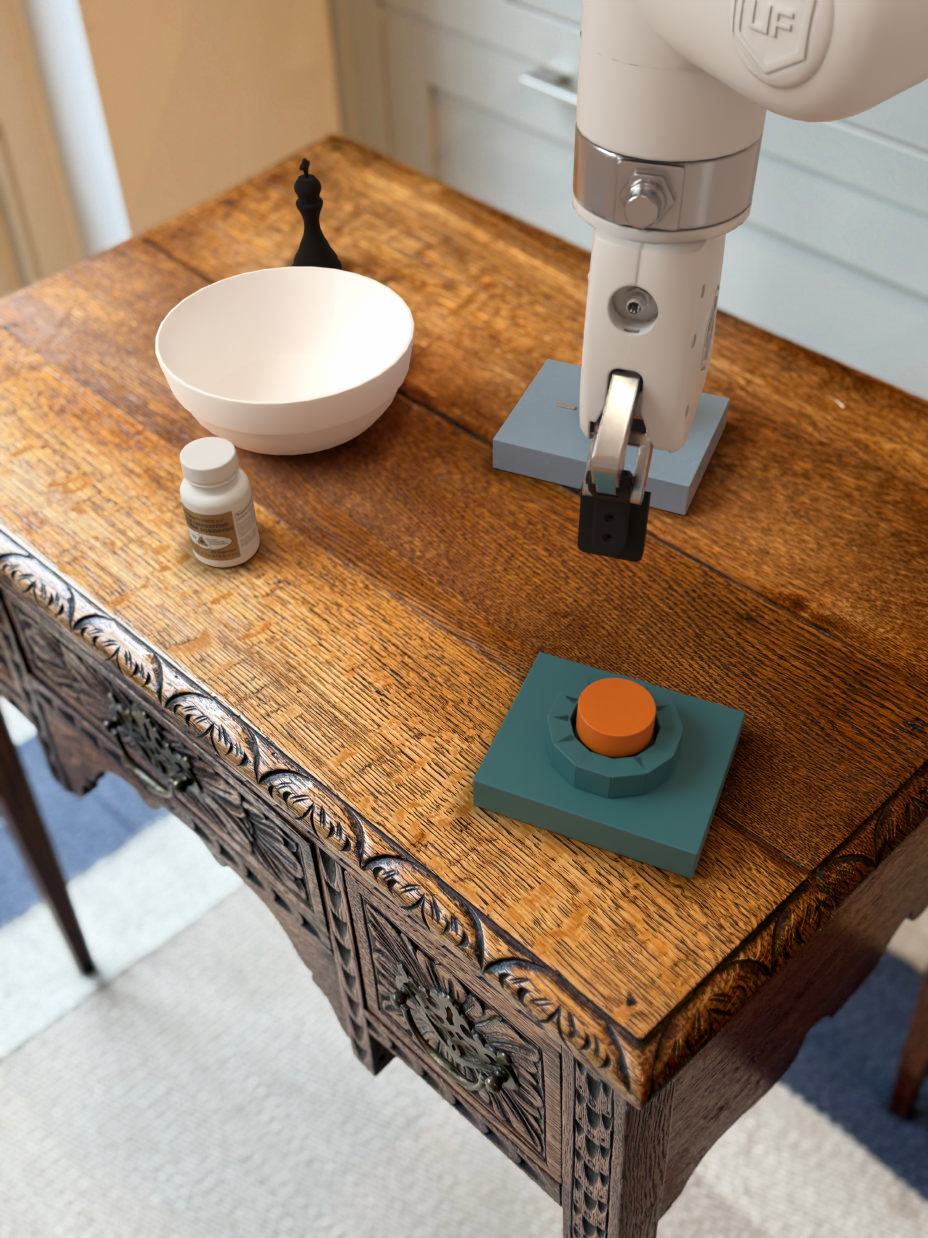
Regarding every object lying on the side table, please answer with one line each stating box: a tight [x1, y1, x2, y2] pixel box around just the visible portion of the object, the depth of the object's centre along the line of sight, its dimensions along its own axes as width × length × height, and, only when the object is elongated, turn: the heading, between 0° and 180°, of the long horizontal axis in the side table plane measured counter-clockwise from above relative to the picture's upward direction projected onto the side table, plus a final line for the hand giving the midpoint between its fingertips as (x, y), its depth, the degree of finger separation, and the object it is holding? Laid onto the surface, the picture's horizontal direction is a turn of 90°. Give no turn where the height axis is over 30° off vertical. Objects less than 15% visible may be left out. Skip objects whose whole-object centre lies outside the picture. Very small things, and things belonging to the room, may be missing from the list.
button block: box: [472, 651, 746, 880], centre depth 63 cm, size 12×10×4 cm
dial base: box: [492, 358, 731, 516], centre depth 84 cm, size 14×11×3 cm
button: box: [576, 678, 656, 757], centre depth 61 cm, size 4×4×2 cm
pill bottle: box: [179, 436, 261, 568], centre depth 75 cm, size 4×4×8 cm
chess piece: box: [291, 157, 343, 270], centre depth 100 cm, size 4×4×10 cm
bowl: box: [154, 266, 416, 456], centre depth 86 cm, size 18×18×7 cm
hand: (630, 493), depth 61 cm, fingers open, 9 cm apart
